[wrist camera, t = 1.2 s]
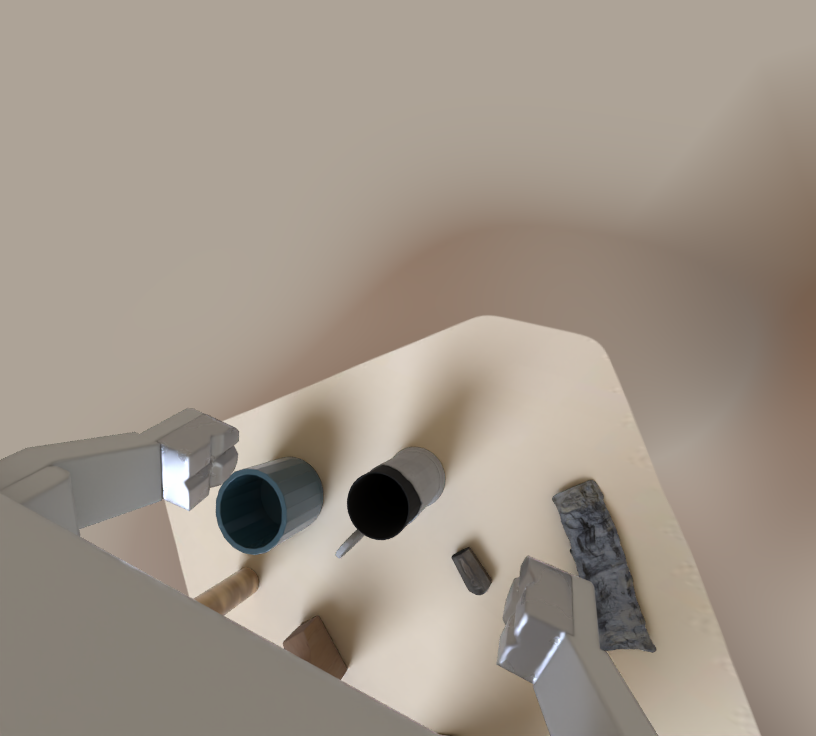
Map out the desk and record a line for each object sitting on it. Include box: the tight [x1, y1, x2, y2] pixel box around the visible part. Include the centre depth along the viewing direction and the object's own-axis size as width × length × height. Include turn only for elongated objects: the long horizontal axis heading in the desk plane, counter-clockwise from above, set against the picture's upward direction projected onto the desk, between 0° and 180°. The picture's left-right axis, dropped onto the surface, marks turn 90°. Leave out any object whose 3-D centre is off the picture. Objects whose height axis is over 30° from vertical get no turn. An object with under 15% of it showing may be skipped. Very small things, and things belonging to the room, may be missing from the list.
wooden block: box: [283, 616, 347, 680], centre depth 56 cm, size 9×4×18 cm, turn 34°
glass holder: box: [335, 447, 445, 558], centre depth 54 cm, size 9×14×15 cm, turn 139°
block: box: [452, 547, 492, 595], centre depth 57 cm, size 4×6×2 cm, turn 34°
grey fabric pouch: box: [552, 480, 656, 653], centre depth 53 cm, size 21×7×2 cm, turn 15°
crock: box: [216, 457, 323, 555], centre depth 62 cm, size 12×12×10 cm
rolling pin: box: [194, 568, 259, 616], centre depth 61 cm, size 4×4×16 cm
